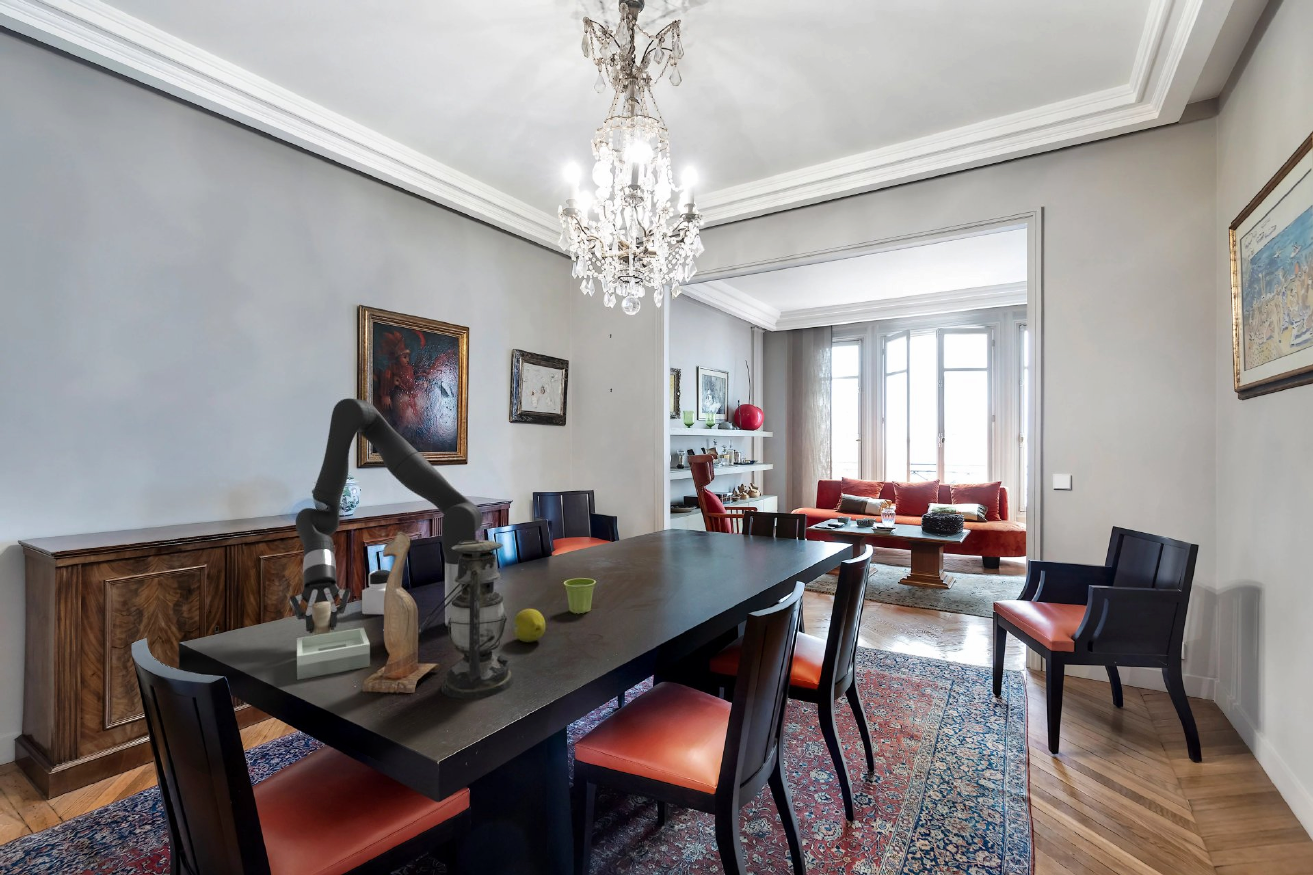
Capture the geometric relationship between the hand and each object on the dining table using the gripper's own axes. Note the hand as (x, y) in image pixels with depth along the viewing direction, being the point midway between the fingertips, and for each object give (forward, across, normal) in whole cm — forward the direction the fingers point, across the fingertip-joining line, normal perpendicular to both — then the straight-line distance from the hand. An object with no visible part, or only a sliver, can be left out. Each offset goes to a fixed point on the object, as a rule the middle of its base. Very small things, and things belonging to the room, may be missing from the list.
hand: (321, 629), depth 144 cm
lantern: (+32, +25, -25) cm, 48 cm away
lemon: (+19, +45, -12) cm, 50 cm away
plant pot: (+7, +67, +1) cm, 67 cm away
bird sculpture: (+26, +14, -19) cm, 35 cm away
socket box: (+12, +2, -5) cm, 13 cm away
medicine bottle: (-16, +16, +24) cm, 33 cm away
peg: (+2, 0, +4) cm, 5 cm away
